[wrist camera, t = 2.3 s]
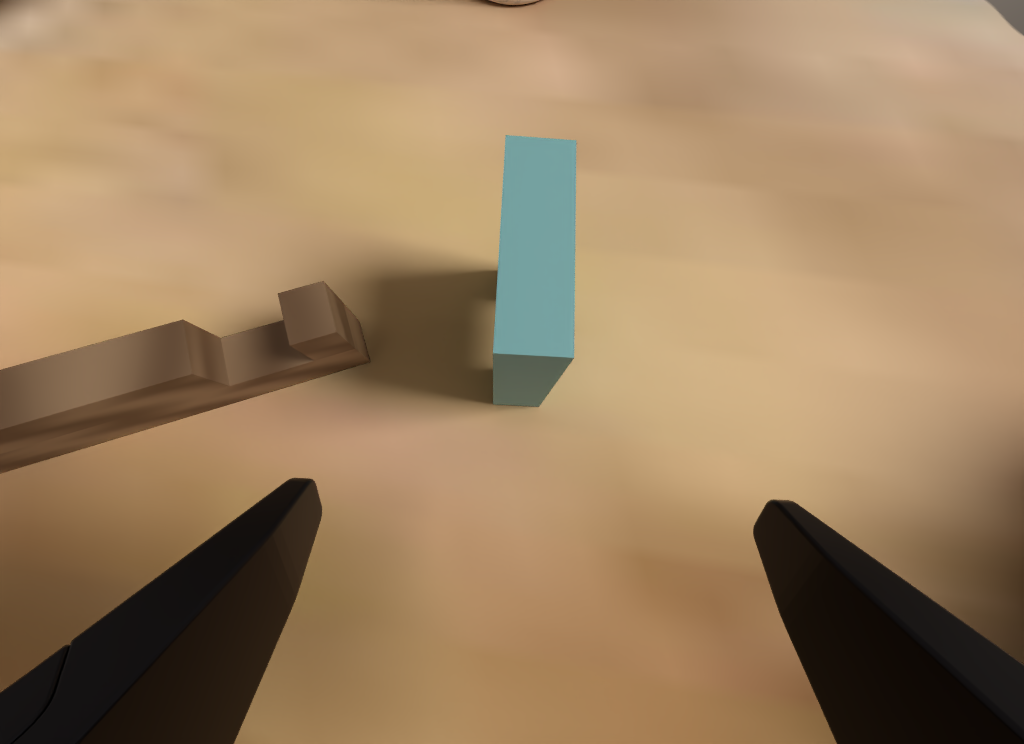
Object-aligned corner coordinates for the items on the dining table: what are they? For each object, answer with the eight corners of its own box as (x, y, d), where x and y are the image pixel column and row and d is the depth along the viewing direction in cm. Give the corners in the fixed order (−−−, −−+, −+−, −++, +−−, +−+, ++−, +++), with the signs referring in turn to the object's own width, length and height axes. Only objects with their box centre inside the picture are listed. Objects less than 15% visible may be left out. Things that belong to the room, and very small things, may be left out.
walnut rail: (359, 320, 23) (323, 280, 18) (370, 361, 23) (336, 331, 18) (-33, 434, 21) (-193, 422, 16) (-30, 482, 20) (-196, 486, 15)
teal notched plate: (538, 406, 22) (573, 357, 13) (493, 404, 22) (492, 353, 13) (542, 272, 24) (576, 140, 15) (500, 269, 24) (505, 135, 14)
